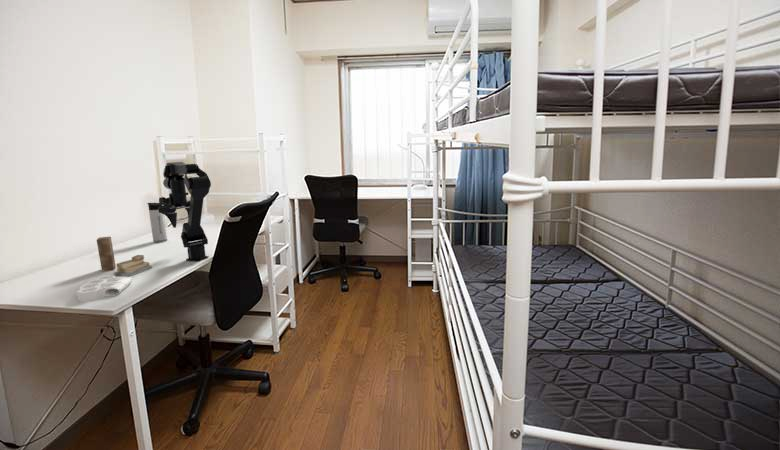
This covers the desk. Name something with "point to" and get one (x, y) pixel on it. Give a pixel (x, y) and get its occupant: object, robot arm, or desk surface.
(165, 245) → the desk surface
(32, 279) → the desk surface
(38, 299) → the desk surface
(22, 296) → the desk surface
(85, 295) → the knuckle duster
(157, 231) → the travel mug
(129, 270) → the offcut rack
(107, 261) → the walnut block
